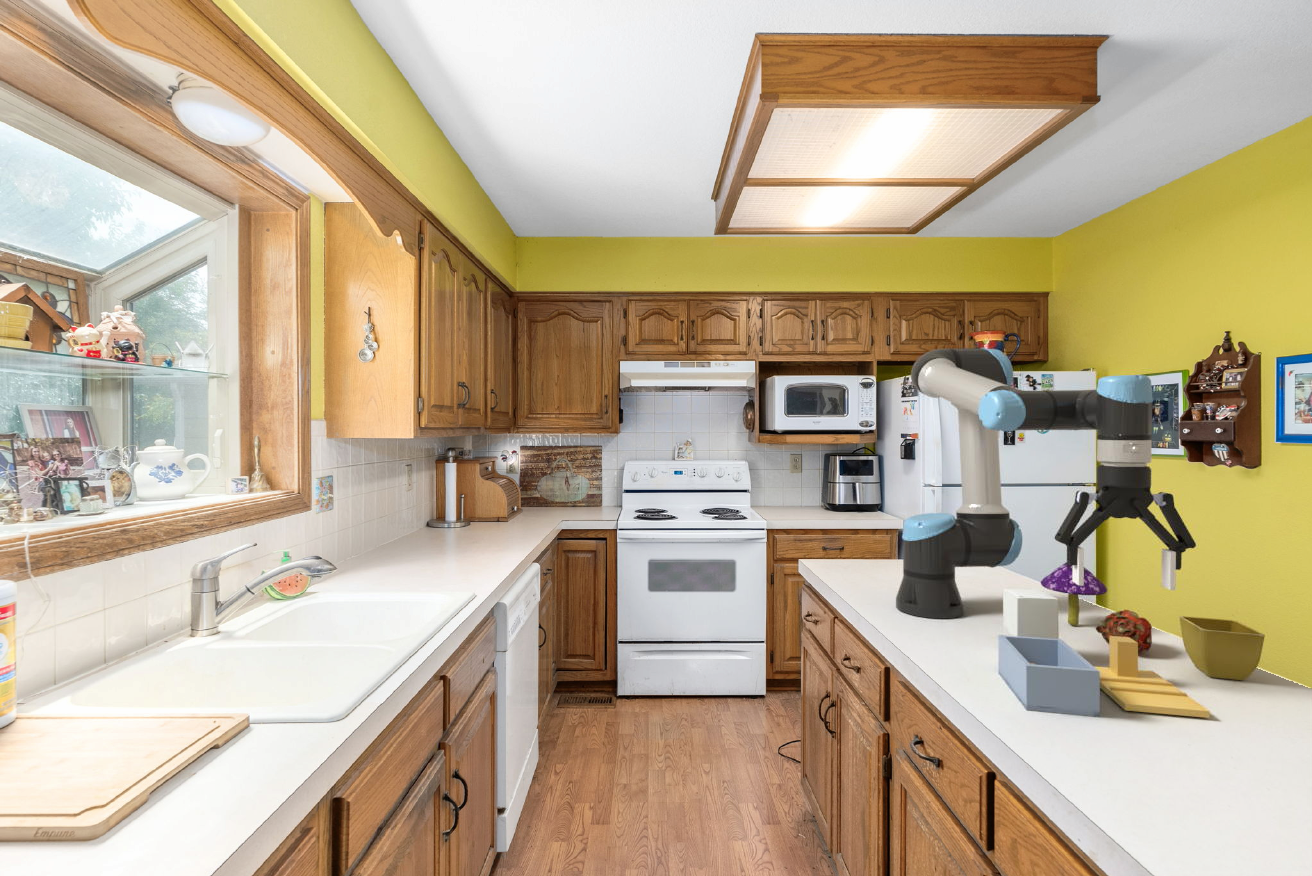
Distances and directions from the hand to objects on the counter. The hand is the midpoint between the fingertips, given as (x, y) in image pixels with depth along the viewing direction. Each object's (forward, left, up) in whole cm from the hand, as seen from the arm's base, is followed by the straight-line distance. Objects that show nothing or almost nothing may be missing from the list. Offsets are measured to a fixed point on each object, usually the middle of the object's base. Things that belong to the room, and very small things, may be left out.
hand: (1122, 585), depth 107 cm
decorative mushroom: (-32, +4, -17) cm, 37 cm away
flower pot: (-7, +18, -17) cm, 26 cm away
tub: (+9, -15, -17) cm, 24 cm away
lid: (+6, 0, -16) cm, 17 cm away
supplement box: (-8, -12, -17) cm, 22 cm away
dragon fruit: (-18, +8, -17) cm, 26 cm away
